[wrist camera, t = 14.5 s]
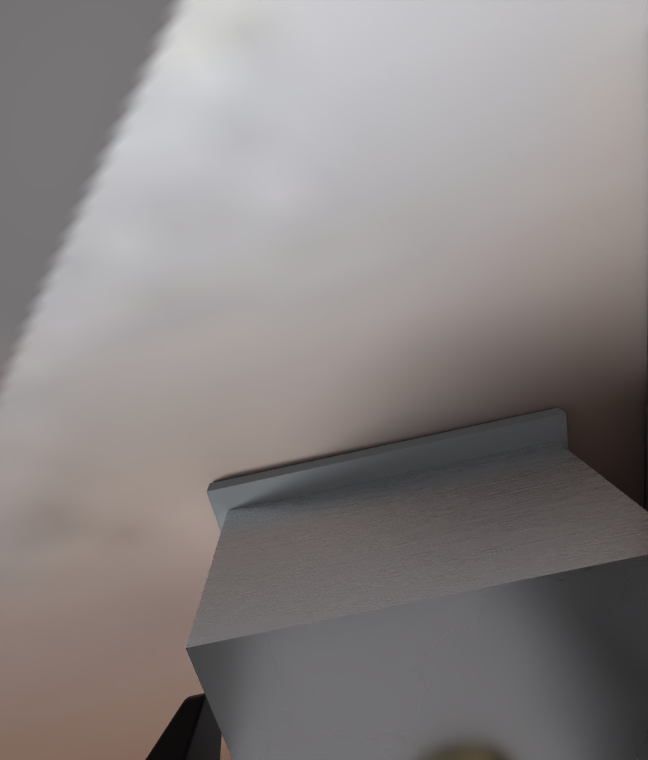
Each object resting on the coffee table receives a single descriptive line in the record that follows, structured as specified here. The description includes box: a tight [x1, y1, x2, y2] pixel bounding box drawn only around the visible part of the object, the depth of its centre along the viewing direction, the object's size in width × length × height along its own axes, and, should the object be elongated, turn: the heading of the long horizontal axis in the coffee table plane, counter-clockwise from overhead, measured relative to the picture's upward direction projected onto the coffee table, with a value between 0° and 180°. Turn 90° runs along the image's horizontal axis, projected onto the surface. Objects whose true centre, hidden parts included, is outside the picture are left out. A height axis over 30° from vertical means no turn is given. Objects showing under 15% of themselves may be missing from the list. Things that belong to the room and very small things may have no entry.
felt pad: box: [207, 408, 568, 531], centre depth 9 cm, size 8×7×1 cm
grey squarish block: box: [186, 441, 648, 760], centre depth 8 cm, size 7×6×4 cm
